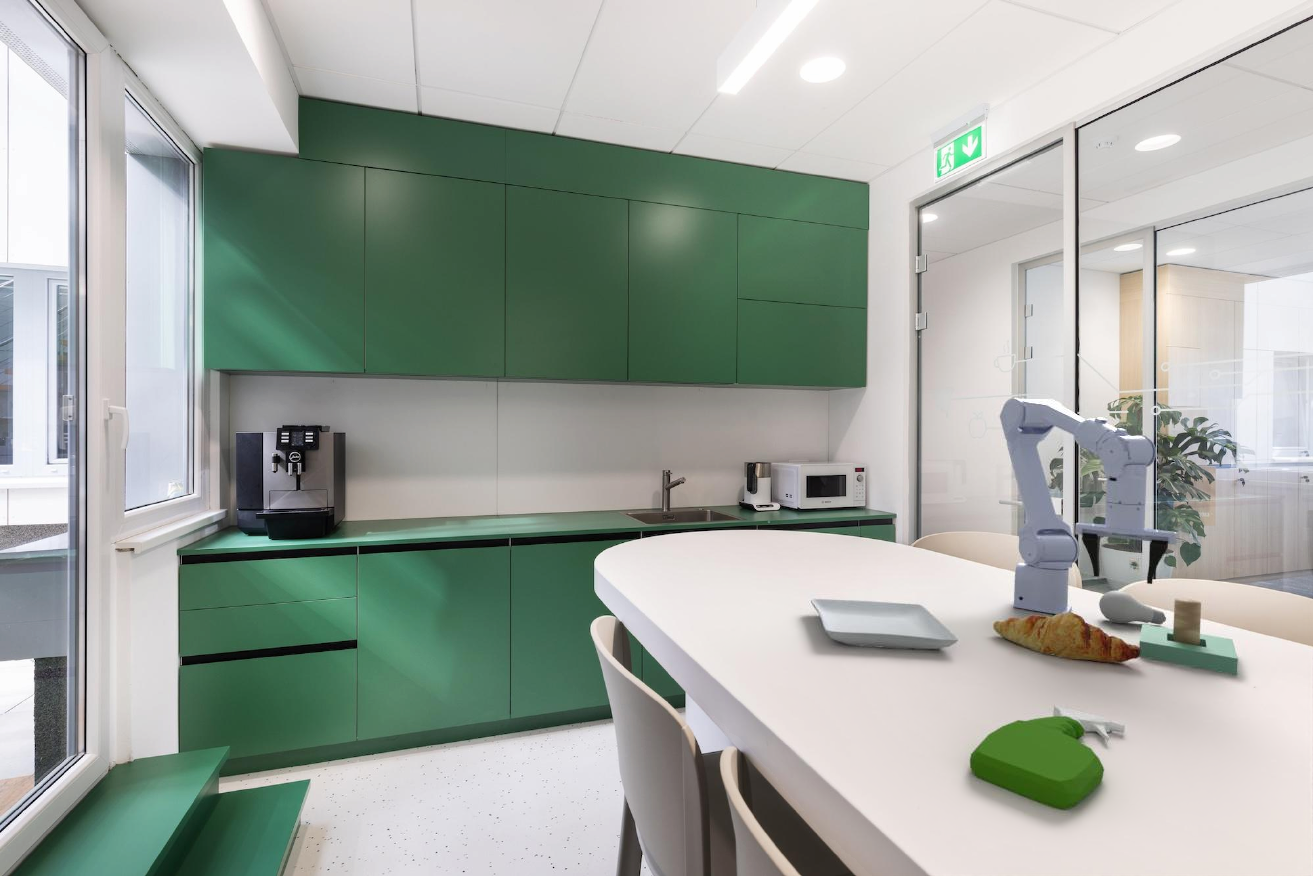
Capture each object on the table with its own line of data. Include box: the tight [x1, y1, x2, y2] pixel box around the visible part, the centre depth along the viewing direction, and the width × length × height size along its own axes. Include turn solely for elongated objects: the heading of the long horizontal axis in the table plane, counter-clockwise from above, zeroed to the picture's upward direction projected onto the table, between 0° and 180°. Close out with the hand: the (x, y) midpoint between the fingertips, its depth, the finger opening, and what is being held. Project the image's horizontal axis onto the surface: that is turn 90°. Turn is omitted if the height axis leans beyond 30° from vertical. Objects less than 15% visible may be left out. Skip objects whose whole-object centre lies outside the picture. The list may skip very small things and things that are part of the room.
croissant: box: [992, 611, 1141, 663], centre depth 108 cm, size 21×10×8 cm, turn 48°
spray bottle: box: [969, 705, 1126, 810], centre depth 74 cm, size 3×11×24 cm
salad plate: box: [810, 598, 959, 650], centre depth 116 cm, size 21×21×3 cm
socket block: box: [1138, 623, 1239, 675], centre depth 107 cm, size 12×12×2 cm
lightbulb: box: [1098, 590, 1167, 626], centre depth 125 cm, size 6×6×11 cm
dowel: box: [1172, 597, 1202, 646], centre depth 107 cm, size 3×3×9 cm
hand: (1122, 579), depth 116 cm, fingers open, 7 cm apart
